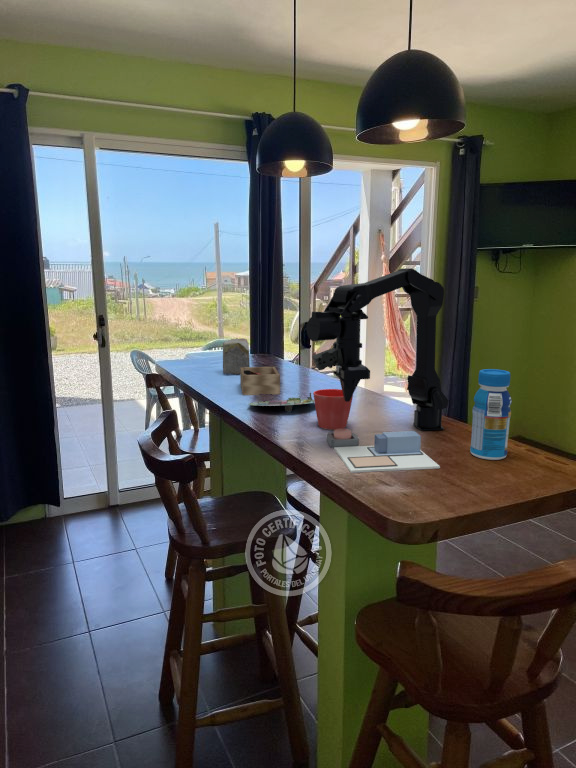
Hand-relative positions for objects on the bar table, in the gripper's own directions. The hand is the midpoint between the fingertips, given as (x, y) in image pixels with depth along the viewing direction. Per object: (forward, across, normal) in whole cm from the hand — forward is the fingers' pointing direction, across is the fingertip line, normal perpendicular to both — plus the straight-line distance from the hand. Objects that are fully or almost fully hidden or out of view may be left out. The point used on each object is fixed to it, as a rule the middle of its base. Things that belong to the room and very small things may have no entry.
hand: (347, 401), depth 134 cm
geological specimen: (+11, -100, -23) cm, 103 cm away
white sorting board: (+11, +12, +6) cm, 17 cm away
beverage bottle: (+11, +13, +31) cm, 36 cm away
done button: (+12, 0, -1) cm, 12 cm away
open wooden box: (+11, -67, -16) cm, 69 cm away
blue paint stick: (+10, +9, +10) cm, 17 cm away
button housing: (+11, 0, -1) cm, 11 cm away
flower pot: (+11, -16, 0) cm, 19 cm away
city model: (+12, -40, -10) cm, 43 cm away
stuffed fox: (+11, -66, -19) cm, 70 cm away
